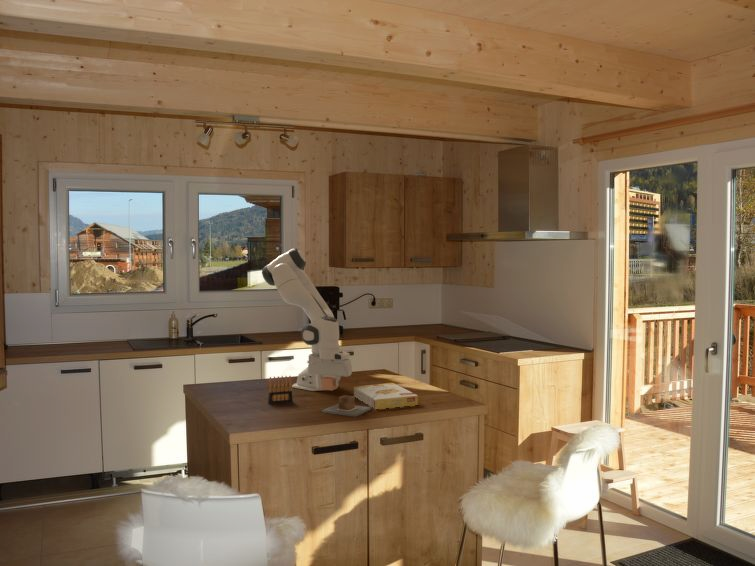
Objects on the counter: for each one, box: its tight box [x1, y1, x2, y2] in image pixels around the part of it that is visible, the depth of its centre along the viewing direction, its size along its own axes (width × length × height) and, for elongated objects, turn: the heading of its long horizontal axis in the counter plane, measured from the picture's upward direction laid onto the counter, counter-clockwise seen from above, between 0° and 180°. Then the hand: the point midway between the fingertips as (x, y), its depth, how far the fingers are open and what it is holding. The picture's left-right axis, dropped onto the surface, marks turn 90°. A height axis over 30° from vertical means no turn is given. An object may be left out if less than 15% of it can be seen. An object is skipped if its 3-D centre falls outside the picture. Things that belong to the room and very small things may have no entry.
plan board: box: [321, 402, 372, 418], centre depth 287 cm, size 16×14×1 cm
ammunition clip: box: [267, 375, 293, 405], centre depth 302 cm, size 11×2×12 cm, turn 111°
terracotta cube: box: [321, 376, 338, 391], centre depth 298 cm, size 5×5×5 cm
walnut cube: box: [338, 394, 356, 410], centre depth 287 cm, size 5×5×5 cm
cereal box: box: [353, 382, 419, 410], centre depth 305 cm, size 20×6×28 cm
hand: (329, 385), depth 298 cm, fingers closed on terracotta cube, 5 cm apart
